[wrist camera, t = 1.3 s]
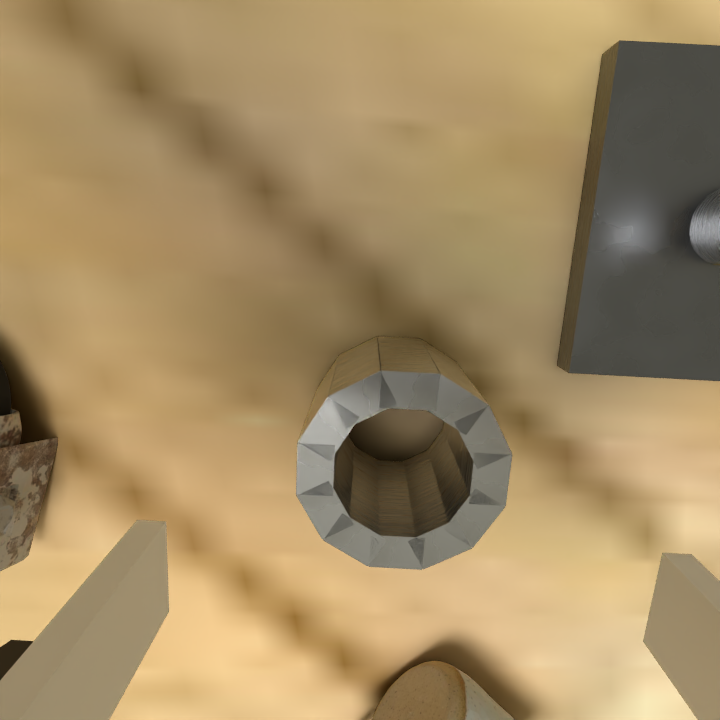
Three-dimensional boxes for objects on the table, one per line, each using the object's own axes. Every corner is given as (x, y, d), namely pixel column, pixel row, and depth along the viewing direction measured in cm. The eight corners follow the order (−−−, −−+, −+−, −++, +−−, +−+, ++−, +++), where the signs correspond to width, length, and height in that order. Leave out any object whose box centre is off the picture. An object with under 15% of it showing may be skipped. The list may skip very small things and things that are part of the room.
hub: (318, 333, 25) (299, 366, 18) (479, 341, 25) (522, 378, 18) (313, 480, 26) (294, 562, 20) (463, 488, 26) (496, 573, 20)
